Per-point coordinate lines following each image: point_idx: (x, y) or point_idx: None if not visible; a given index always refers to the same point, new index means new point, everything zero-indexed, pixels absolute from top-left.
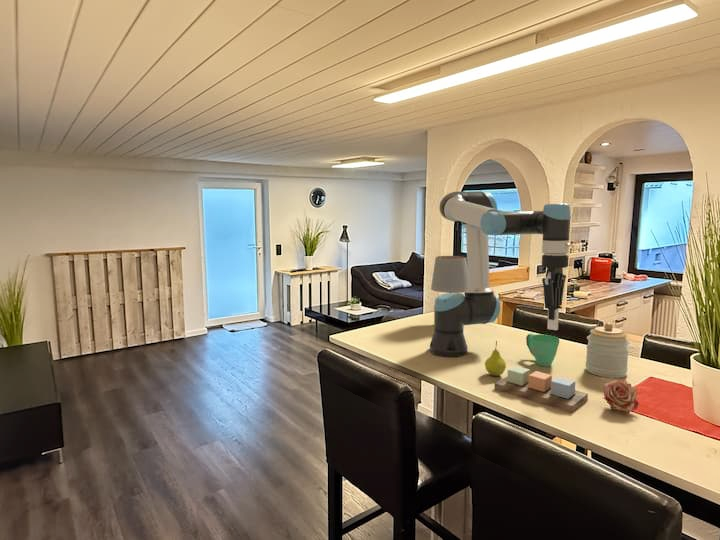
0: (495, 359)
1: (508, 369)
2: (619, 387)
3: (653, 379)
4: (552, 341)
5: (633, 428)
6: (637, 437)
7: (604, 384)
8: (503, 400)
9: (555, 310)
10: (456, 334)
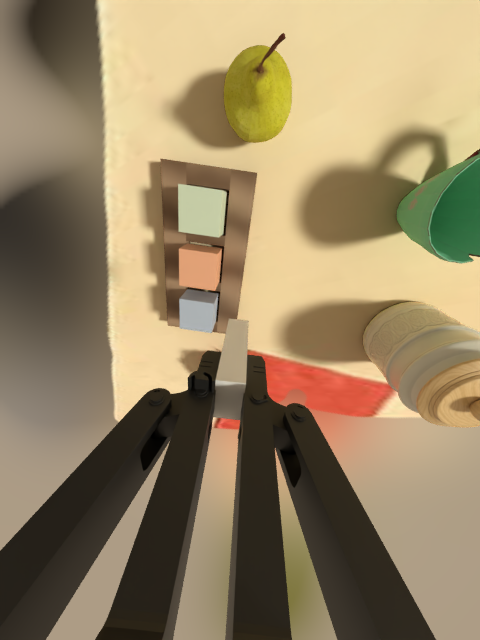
0: (238, 97)
1: (180, 185)
2: None
3: (384, 390)
4: None
5: (182, 379)
6: (162, 383)
7: None
8: (128, 208)
9: (214, 407)
10: None
